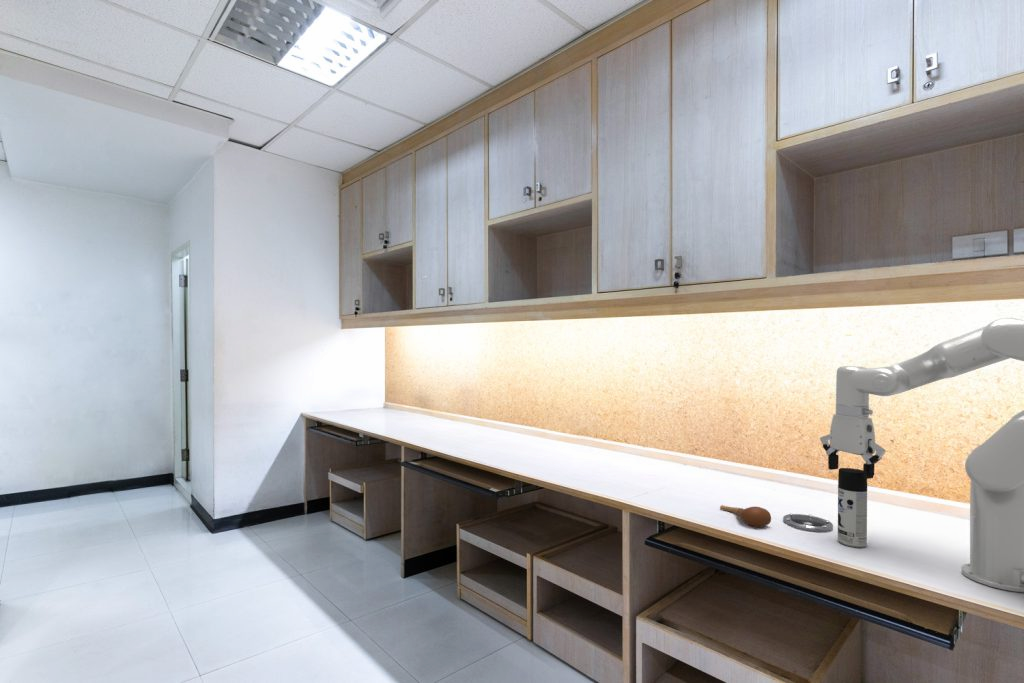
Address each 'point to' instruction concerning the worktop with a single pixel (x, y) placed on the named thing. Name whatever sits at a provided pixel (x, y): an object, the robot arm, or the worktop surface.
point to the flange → (808, 523)
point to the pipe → (751, 515)
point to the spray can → (852, 508)
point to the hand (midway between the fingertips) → (850, 473)
